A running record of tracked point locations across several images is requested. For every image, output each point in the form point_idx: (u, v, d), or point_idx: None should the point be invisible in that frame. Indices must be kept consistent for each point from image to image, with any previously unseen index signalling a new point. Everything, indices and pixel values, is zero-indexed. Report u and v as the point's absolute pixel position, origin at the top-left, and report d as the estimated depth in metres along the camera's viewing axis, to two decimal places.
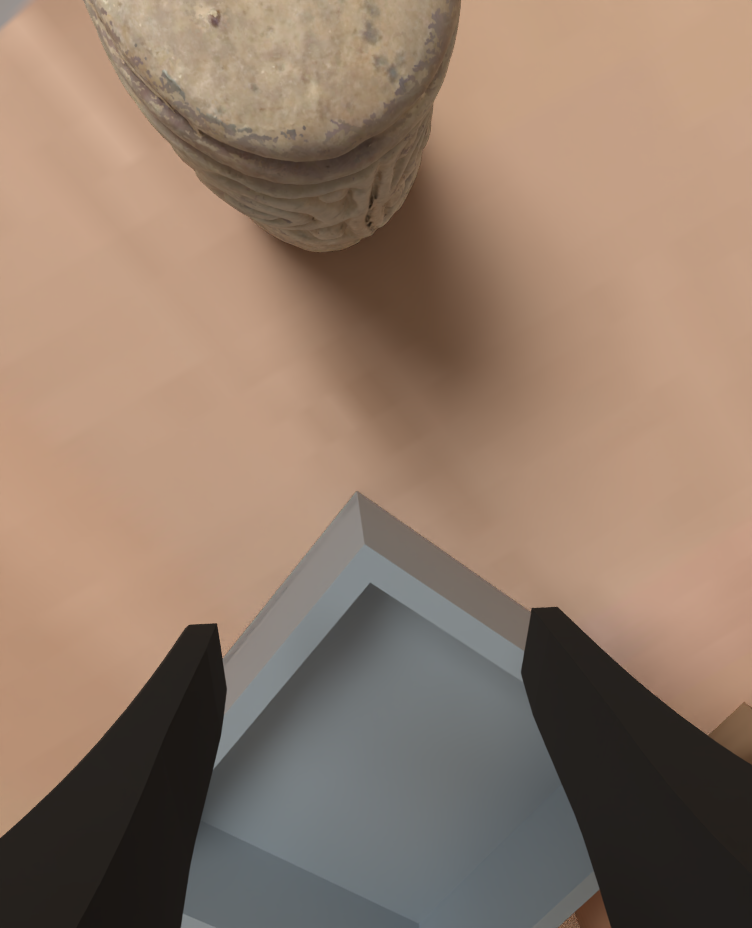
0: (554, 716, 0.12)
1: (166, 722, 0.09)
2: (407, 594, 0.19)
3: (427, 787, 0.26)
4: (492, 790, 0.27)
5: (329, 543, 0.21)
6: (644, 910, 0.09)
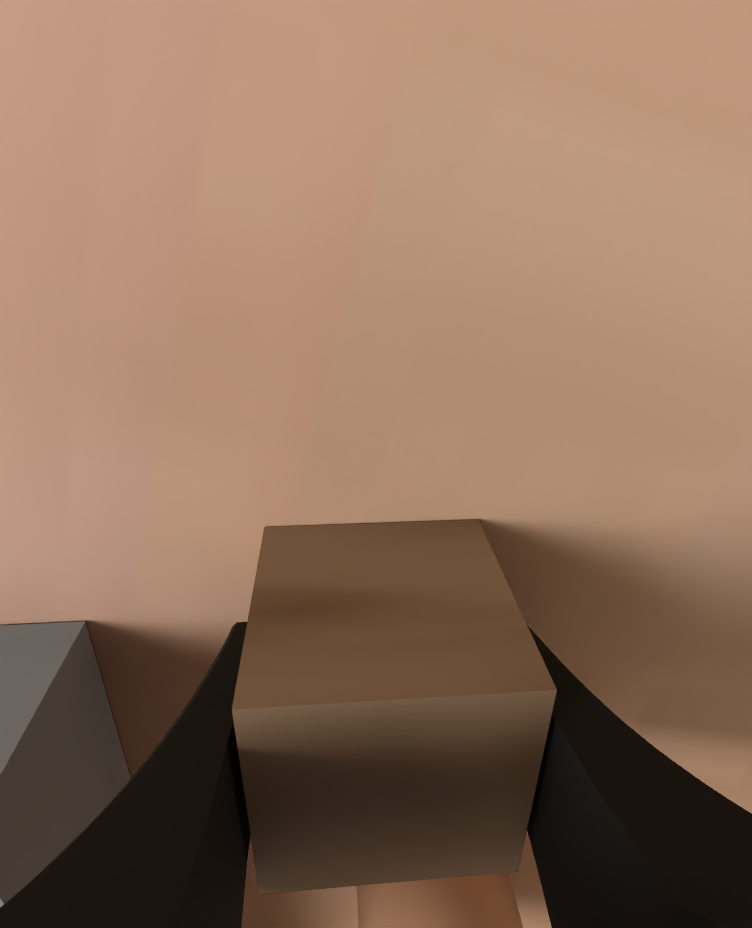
0: None
1: (229, 718, 0.09)
2: None
3: None
4: None
5: None
6: (579, 916, 0.09)
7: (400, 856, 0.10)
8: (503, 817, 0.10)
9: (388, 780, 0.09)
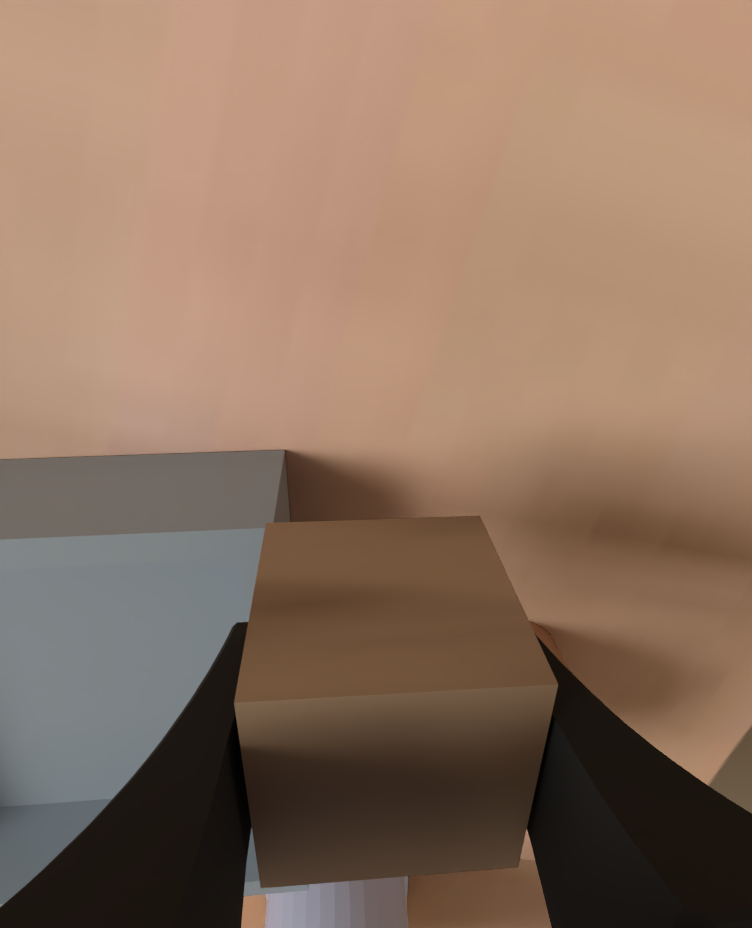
0: None
1: (228, 718, 0.09)
2: None
3: (140, 681, 0.23)
4: (205, 648, 0.22)
5: None
6: (579, 916, 0.09)
7: (401, 851, 0.10)
8: (504, 812, 0.10)
9: (390, 774, 0.09)
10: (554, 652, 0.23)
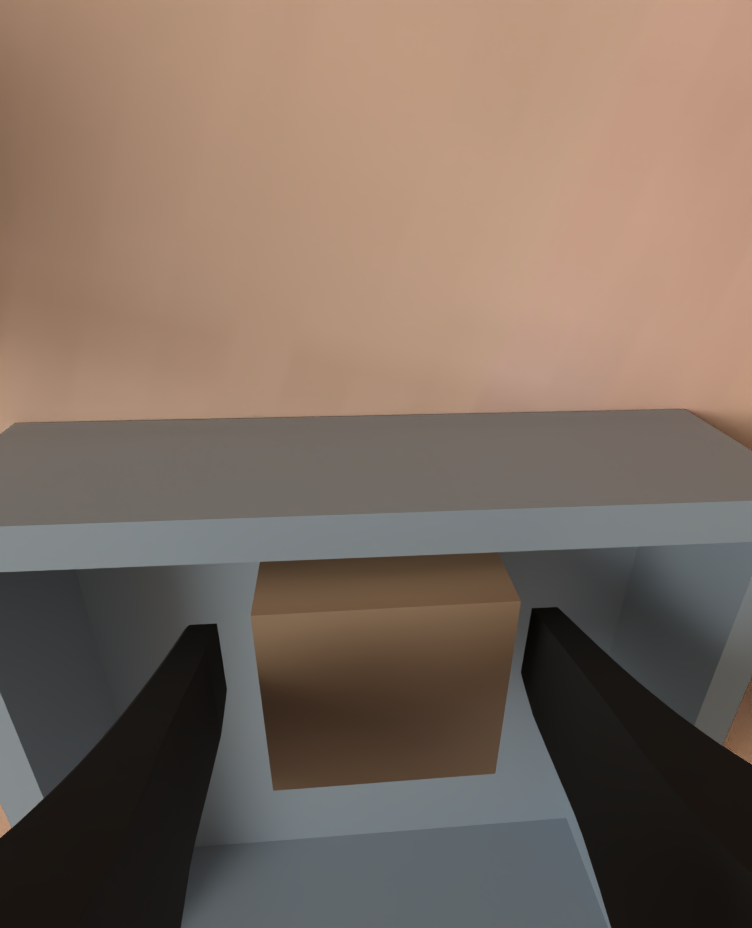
0: (554, 716, 0.12)
1: (166, 722, 0.09)
2: (19, 555, 0.10)
3: None
4: None
5: None
6: (644, 910, 0.09)
7: (393, 757, 0.12)
8: (480, 720, 0.12)
9: (381, 683, 0.11)
10: None
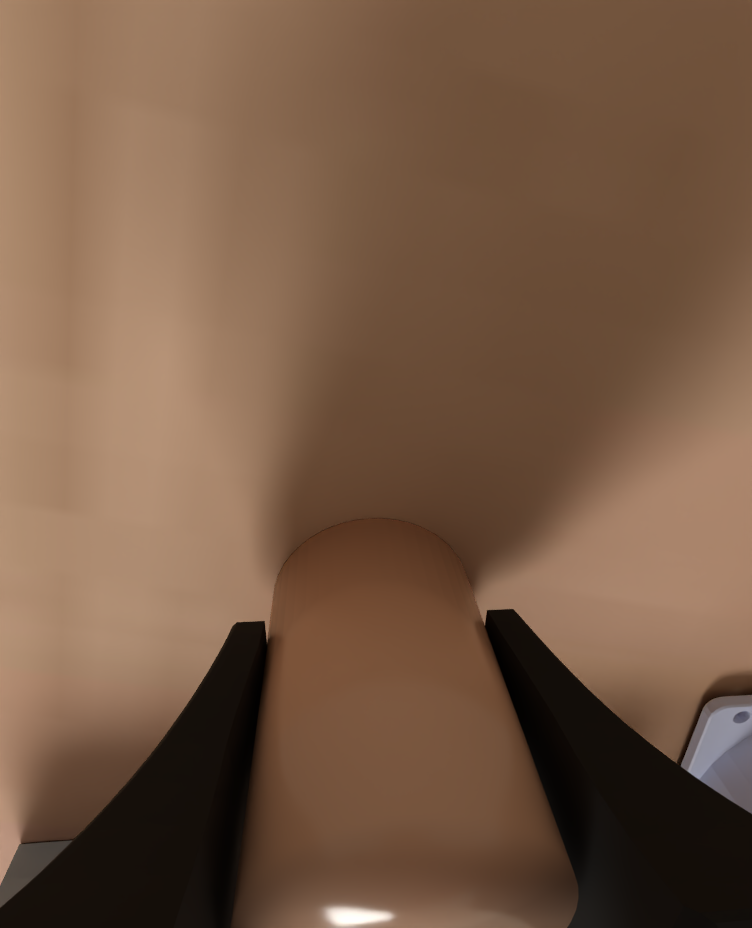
0: None
1: (229, 718, 0.09)
2: None
3: None
4: None
5: None
6: (579, 916, 0.09)
7: None
8: None
9: None
10: (288, 593, 0.12)
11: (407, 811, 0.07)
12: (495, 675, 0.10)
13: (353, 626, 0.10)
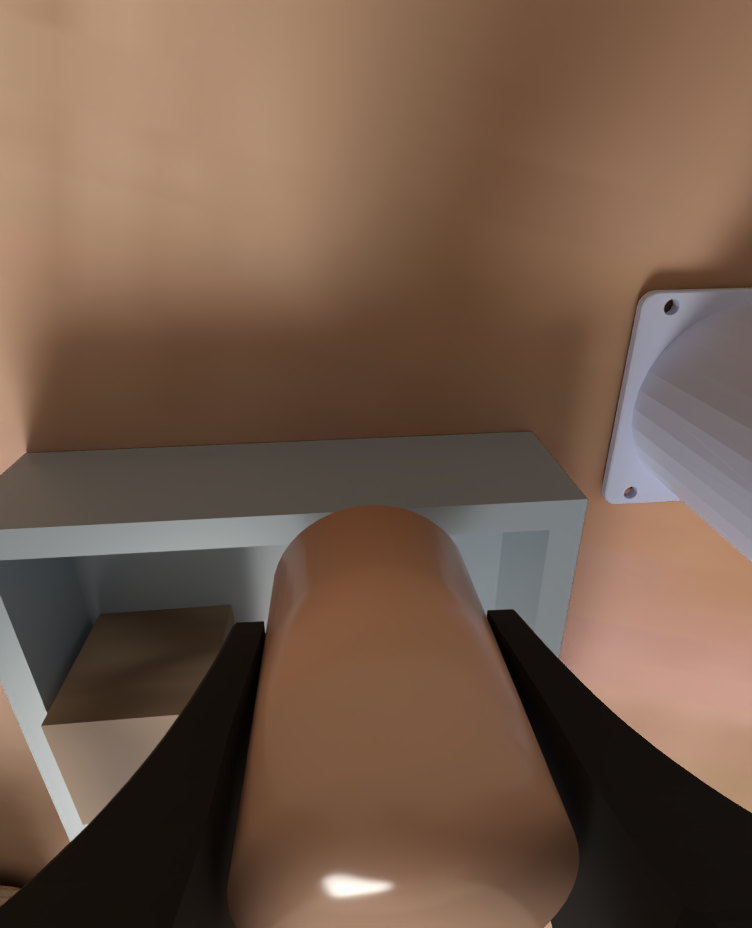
0: None
1: (228, 718, 0.09)
2: None
3: None
4: None
5: None
6: (580, 916, 0.09)
7: None
8: (150, 728, 0.17)
9: (124, 775, 0.18)
10: (288, 576, 0.12)
11: (405, 757, 0.07)
12: (493, 648, 0.10)
13: (351, 598, 0.10)
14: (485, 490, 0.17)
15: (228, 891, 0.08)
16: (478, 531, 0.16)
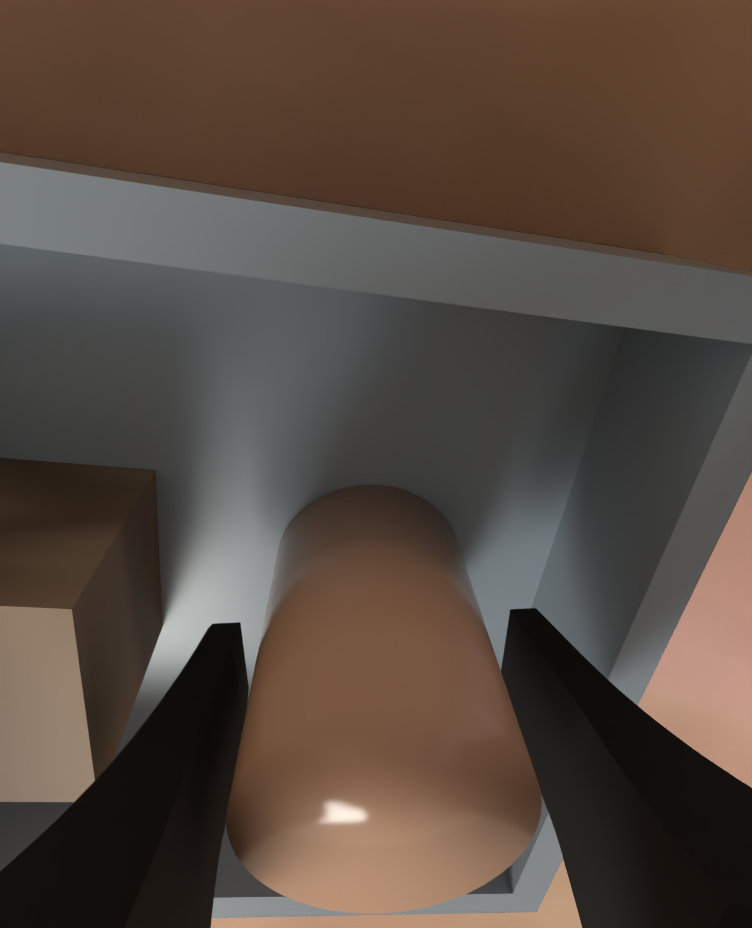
0: (530, 717, 0.12)
1: (197, 720, 0.09)
2: None
3: (290, 482, 0.14)
4: (229, 368, 0.13)
5: None
6: (612, 913, 0.09)
7: (36, 708, 0.10)
8: None
9: None
10: (289, 548, 0.13)
11: (383, 704, 0.08)
12: (475, 616, 0.11)
13: (345, 568, 0.11)
14: (649, 258, 0.09)
15: (227, 819, 0.09)
16: (634, 323, 0.09)
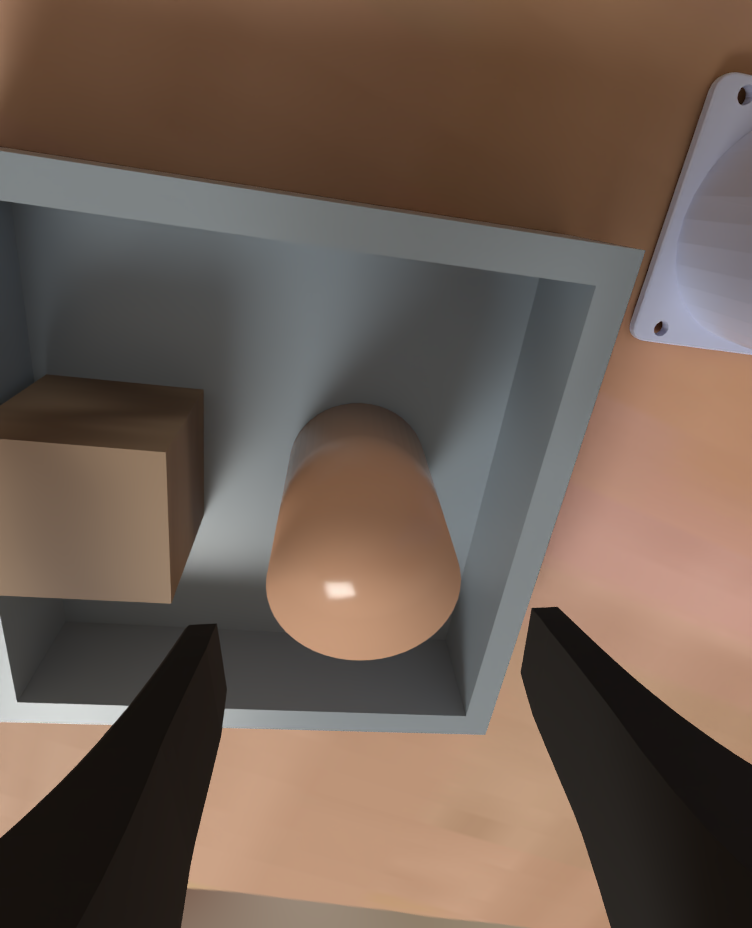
0: (554, 716, 0.12)
1: (166, 722, 0.09)
2: None
3: (300, 400, 0.19)
4: (258, 314, 0.18)
5: None
6: (644, 910, 0.09)
7: (137, 526, 0.15)
8: (94, 463, 0.14)
9: (51, 529, 0.15)
10: (302, 442, 0.18)
11: (366, 502, 0.13)
12: (429, 482, 0.16)
13: (343, 445, 0.16)
14: (529, 231, 0.14)
15: (266, 579, 0.14)
16: (517, 271, 0.14)
